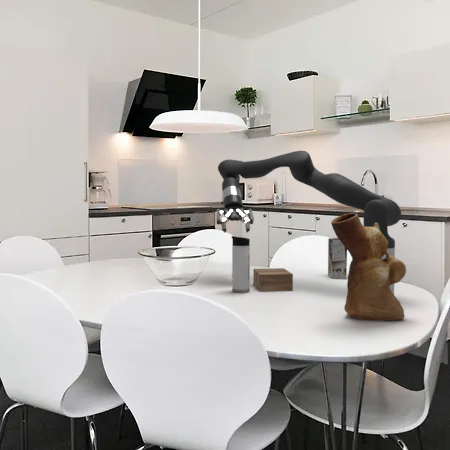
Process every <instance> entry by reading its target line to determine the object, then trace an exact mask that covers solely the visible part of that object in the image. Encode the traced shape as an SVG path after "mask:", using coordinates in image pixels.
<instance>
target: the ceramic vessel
mask: <svg viewBox="0 0 450 450" xmlns="http://www.w3.org/2000/svg"><path fill="white" fill-rule="evenodd" d="M330 225H331V227H332V230H333V231H334V234H335V236H336V238H338V239H339V240H340V241H341V242H342V244H343V245H344V246H345V248H346V249H347V252H348V253H349V254H350V256H351V261H350V264H349V267H348V268H349V269H348V272H347V273H348V274H347V283H346V287H347V289H346V290H347V291H346V292H347V294H346V298H345V304H344V305H343V306H344V308H343V310H344V311H345V312H346V314H347V315H348V316H349V317H351V318H354V319H357V320H361V321H362V320H363V321H372V322H373V321H374V322H375V321H378V322H379V321H380V322H381V321H395V320H396V321H398V320H403V319H405V310H404V308H403V306H402V304H401V303H400V301H399V300H398V298H397V297H396V296H395V293H394V294H393V293H392V291H391V290H390V285H392V284H394V285H395V284H398V283H399V282H401V281H402V279H404V277H405V275H406V274H407V266H406V264H405V263H404V262H403V261H402V260H401V259H398V258H396V257H395V258H394V257H393V256H392V255H391V254H389V253H387V247H388V241H387V239H386V238H385V237H384V235H383V234H382V233H381V232H380V230H379V225H378V223H375V224H374V226H373V227H364V224H363V223H362V222H361V220H360V217H359V214H358V213H355V212H349V213H345V214H341V215H338V216H337V217H335V218H333V219H332V220H331V222H330ZM385 254H386V258H385V259H383V260H381V257H382V256H384V255H385Z"/></svg>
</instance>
